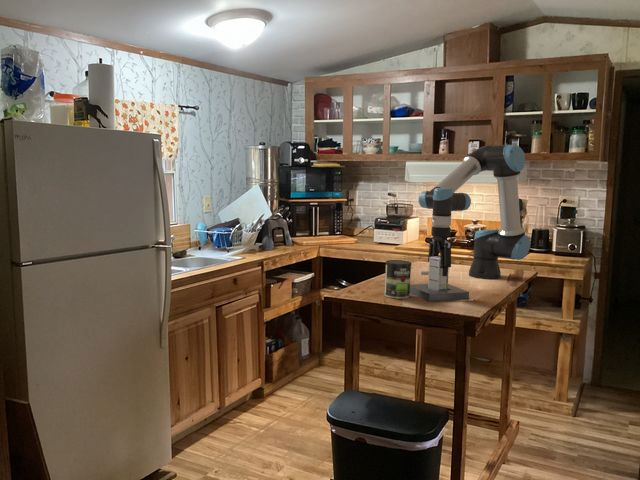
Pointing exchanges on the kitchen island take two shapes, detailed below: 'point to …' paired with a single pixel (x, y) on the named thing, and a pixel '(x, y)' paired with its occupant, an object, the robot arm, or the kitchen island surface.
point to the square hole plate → (438, 293)
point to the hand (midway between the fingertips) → (438, 281)
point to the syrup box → (436, 274)
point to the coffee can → (397, 279)
